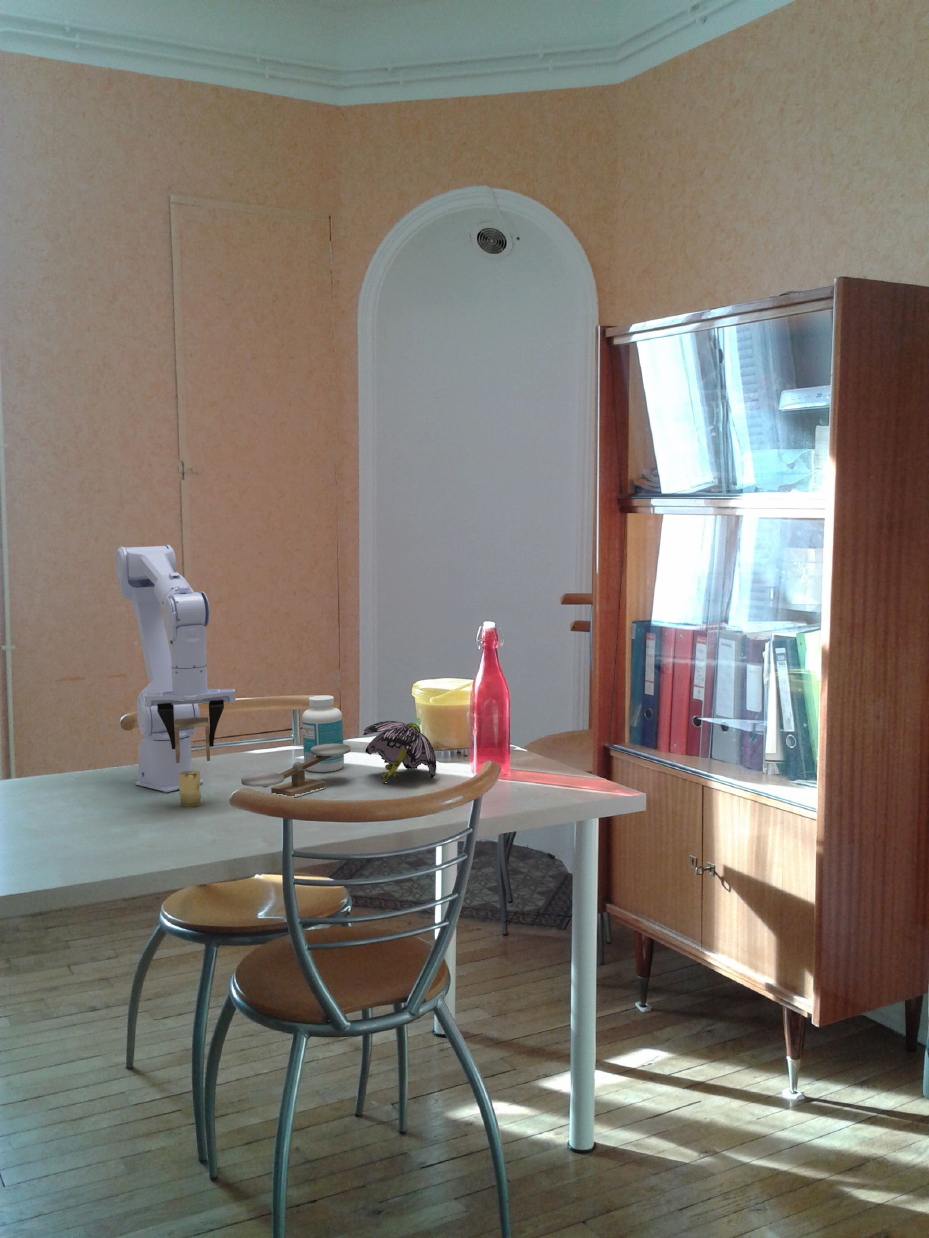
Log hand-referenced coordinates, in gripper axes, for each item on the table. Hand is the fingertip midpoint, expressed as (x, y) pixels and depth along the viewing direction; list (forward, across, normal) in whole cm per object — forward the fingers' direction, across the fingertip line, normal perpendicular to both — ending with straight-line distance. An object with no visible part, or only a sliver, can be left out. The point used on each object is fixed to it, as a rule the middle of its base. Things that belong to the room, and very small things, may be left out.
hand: (192, 746), depth 186 cm
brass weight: (+10, -1, -1) cm, 10 cm away
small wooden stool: (+2, 0, 0) cm, 2 cm away
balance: (+10, +17, +2) cm, 20 cm away
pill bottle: (+10, +23, +17) cm, 31 cm away
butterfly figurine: (+10, +36, +6) cm, 38 cm away
